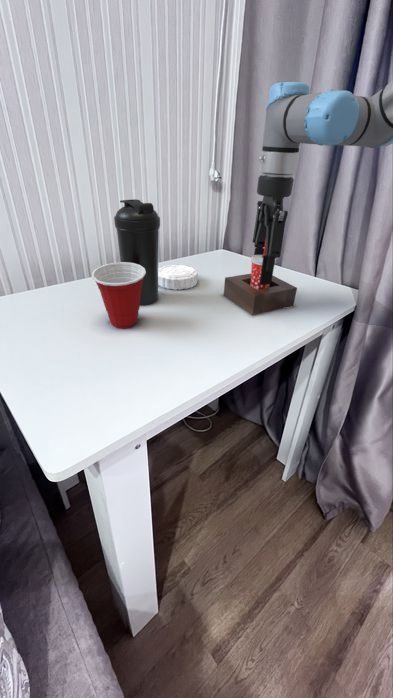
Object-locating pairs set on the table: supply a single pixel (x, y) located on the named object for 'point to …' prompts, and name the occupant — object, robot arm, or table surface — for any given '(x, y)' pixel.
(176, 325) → the table surface
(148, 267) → the water bottle
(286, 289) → the holder
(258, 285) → the beverage cup
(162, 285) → the mooncake
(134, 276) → the plastic cup
